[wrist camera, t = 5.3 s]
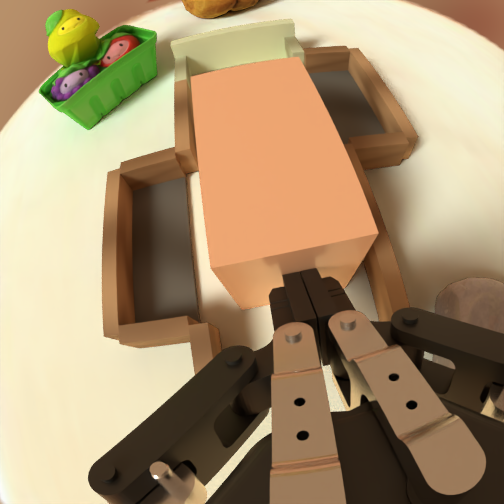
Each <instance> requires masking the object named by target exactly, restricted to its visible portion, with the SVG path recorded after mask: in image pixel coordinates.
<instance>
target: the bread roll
mask: <svg viewBox="0 0 504 504" xmlns="http://www.w3.org/2000/svg"><path fill="white" fill-rule="evenodd" d="M182 2H183V4H184V6H185V8H186V10H187V11H189V12H190V13H191V14H193V15H195V16H197V17H200V18H214V17H217V16H219V15H222V14H225V13H227V12H228V11H229V10H232V11H236V10H242V9H245V8H248V7H251V6H254V5H255V4H256V3H257V2H258V0H182Z"/></svg>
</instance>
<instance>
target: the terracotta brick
mask: <svg viewBox="0 0 504 504" xmlns="http://www.w3.org/2000/svg"><path fill="white" fill-rule="evenodd" d="M190 78H191V91H192V103H193V115H194V127H195V137H196V148H197V158H198V167H199V177H200V186H201V195H202V203H203V212H204V220H205V228H206V236H207V244H208V252H209V259H210V266H211V269H212V271H213V272H214V273H215V275H216V276H217V277H218V279H219V280H220V282H221V283H222V284H223V286H224V287H225V288H226V290H227V291H228V292H229V294H230V295H231V296H232V297H233V299H234V300H235V301H236V303H237V304H238V305H239V307H240V308H241V309H242V310H245V309H250V308H255V307H260V306H265V305H270V302H269V294H270V292H271V290H272V289H273V288H278V287H283V286H284V284H283V278H282V275H285V274H290V273H294V272H299V274H300V271H304V270H308V269H313V268H317V270H318V272H319V274H320V276H321V278H325V277H329V276H331V277H333V278H334V279H336V280H338V281H339V283H340V284H341V286H342V288H345V287H346V286H347V284H348V283H349V281H350V280H351V278H352V276H353V275H354V273H355V272H356V270H357V268H358V267H359V265H360V264H361V262H362V260H363V259H364V257H365V255H366V254H367V252H368V250H369V249H370V247H371V245H372V244H373V242H374V240H375V239H376V237H377V235H378V234H379V233H378V230H377V227H376V224H375V221H374V219H373V216H372V213H371V210H370V208H369V205H368V203H367V200H366V197H365V195H364V192H363V190H362V187H361V185H360V182H359V180H358V177H357V175H356V173H355V170H354V168H353V165H352V163H351V161H350V158H349V156H348V154H347V152H346V149H345V147H344V145H343V143H342V140H341V138H340V136H339V134H338V132H337V130H336V127H335V125H334V123H333V121H332V119H331V117H330V115H329V113H328V111H327V109H326V107H325V105H324V103H323V101H322V99H321V97H320V95H319V93H318V91H317V89H316V87H315V85H314V83H313V82H312V80H311V78H310V76H309V74H308V72H307V70H306V69H305V67H304V65H303V63H302V61H301V60H300V58H299V57H290V58H283V59H276V60H269V61H263V62H257V63H251V64H245V65H240V66H235V67H230V68H225V69H221V70H216V71H212V72H208V73H204V74H199V75H196V76H192V77H190Z"/></svg>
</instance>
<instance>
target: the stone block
mask: <svg viewBox="0 0 504 504" xmlns="http://www.w3.org/2000/svg"><path fill="white" fill-rule="evenodd" d="M435 314H438V315H442V316H445V317H448V318H452V319H455V320H459V321H462V322H465V323H469V324H472V325H476V326H479V327H482V328H486V329H489V330H493V331H496V332H500V333H503V334H504V283H502V282H500V281H497V280H494V279H489V278H477V277H469V278H466V279H464V280H461V281H457V282H454V283H452V284H450V285H448V286H447V288H445V289H444V290H443V291H441V292H440V294H439V295H438V296H437V300H436V304H435ZM432 362H435V363H438V364H441V365H444V366H446V367H449V368H452V369H455V365H454V364H453V362H452V361H450V360H448V359H446V358H443V357H440V356H437V355H434V354H433V361H432Z"/></svg>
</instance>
